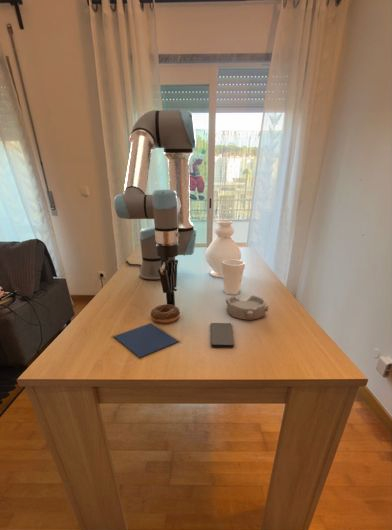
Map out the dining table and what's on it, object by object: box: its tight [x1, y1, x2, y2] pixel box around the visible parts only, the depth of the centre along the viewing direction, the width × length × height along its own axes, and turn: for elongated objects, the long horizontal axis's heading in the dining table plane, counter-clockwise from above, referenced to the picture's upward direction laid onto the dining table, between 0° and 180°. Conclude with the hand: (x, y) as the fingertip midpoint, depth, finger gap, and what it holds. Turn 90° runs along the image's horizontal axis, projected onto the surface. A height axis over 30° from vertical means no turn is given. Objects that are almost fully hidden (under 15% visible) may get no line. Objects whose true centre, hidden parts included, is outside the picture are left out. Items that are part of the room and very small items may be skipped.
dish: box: [225, 295, 269, 320], centre depth 105 cm, size 14×14×5 cm
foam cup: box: [222, 259, 246, 295], centre depth 121 cm, size 10×9×13 cm
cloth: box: [113, 322, 179, 359], centre depth 90 cm, size 16×14×1 cm
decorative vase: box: [204, 219, 242, 279], centre depth 140 cm, size 18×18×25 cm
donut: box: [150, 303, 181, 324], centre depth 102 cm, size 11×11×4 cm
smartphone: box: [210, 322, 235, 348], centre depth 91 cm, size 7×1×15 cm
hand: (171, 308), depth 107 cm, fingers closed
